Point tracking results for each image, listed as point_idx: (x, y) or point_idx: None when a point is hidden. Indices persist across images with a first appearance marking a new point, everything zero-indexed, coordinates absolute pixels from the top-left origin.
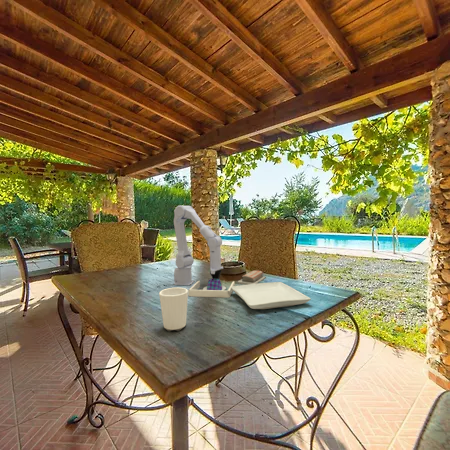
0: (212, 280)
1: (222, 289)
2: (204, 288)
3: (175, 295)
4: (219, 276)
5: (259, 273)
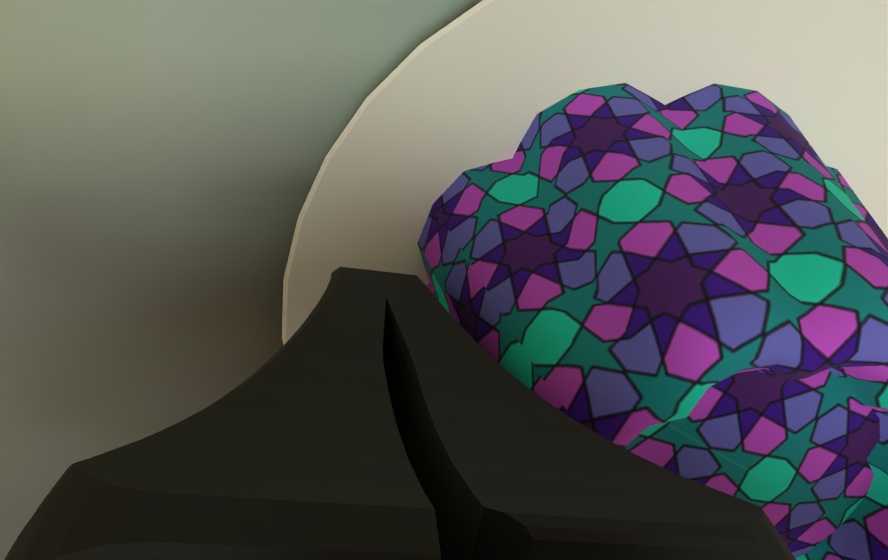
0: None
1: (731, 74)
2: None
3: None
4: (306, 379)
5: None
